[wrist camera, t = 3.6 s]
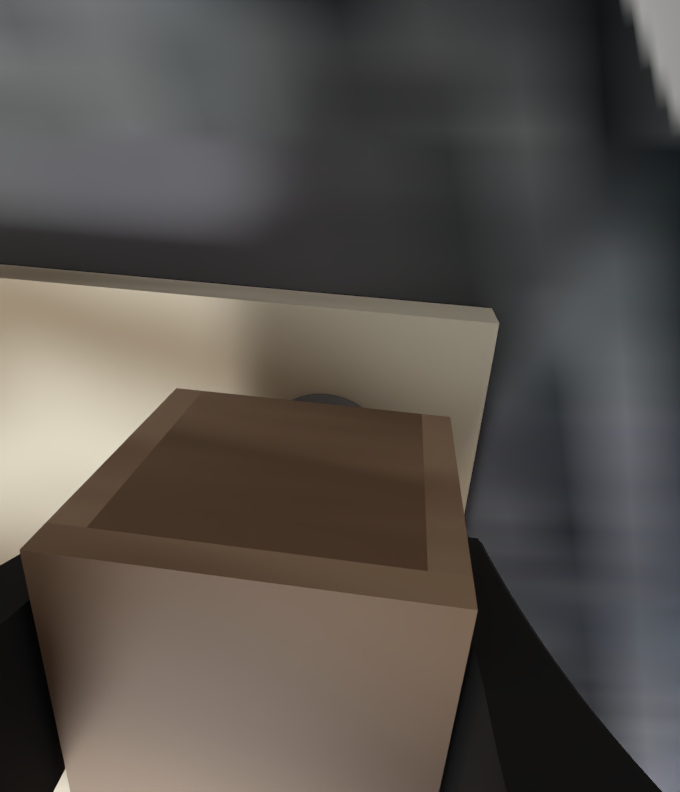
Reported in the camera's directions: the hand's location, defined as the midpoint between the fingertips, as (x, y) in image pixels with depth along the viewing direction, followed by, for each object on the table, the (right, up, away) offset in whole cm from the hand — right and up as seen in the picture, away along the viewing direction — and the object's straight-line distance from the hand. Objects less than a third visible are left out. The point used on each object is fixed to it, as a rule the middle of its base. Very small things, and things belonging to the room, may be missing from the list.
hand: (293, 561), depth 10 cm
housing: (0, +1, +1) cm, 1 cm away
